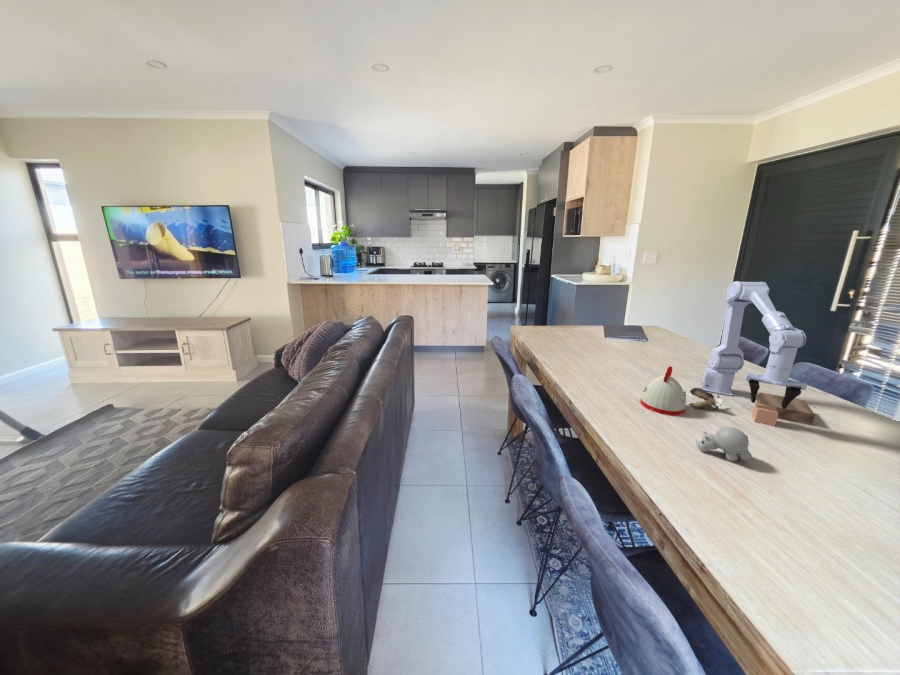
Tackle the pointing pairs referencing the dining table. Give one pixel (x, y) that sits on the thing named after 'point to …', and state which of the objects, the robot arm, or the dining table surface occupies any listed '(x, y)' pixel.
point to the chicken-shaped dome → (664, 395)
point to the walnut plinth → (788, 408)
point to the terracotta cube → (765, 414)
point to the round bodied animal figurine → (727, 443)
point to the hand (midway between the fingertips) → (767, 404)
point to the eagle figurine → (707, 397)
